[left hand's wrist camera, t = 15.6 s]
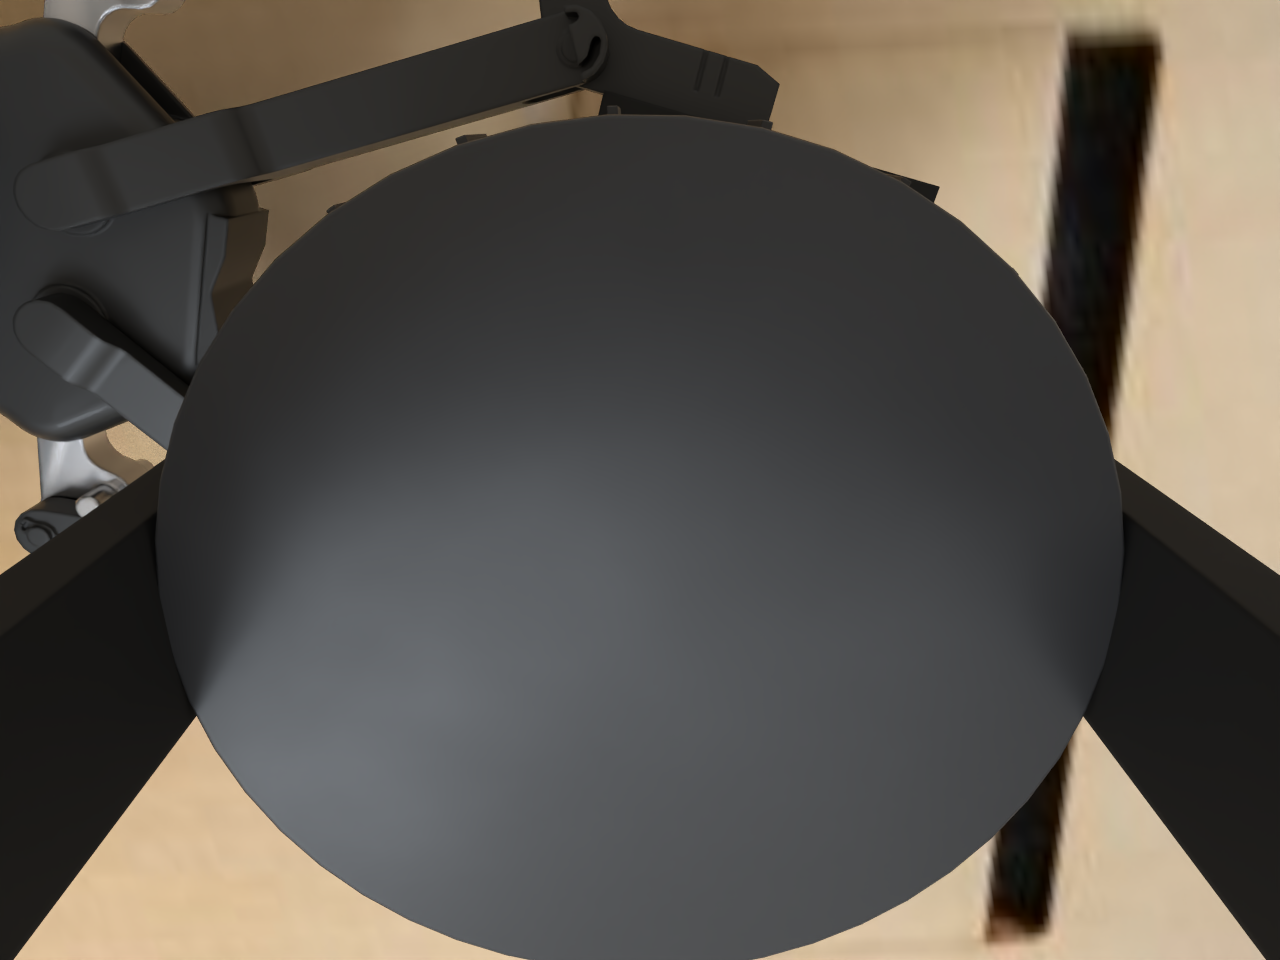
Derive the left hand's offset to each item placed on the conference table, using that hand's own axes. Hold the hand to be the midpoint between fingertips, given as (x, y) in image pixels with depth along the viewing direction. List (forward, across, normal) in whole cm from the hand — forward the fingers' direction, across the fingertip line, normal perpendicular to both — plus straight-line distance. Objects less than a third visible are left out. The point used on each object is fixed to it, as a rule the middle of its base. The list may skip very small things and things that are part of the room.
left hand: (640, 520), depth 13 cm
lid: (-3, 0, 0) cm, 3 cm away
